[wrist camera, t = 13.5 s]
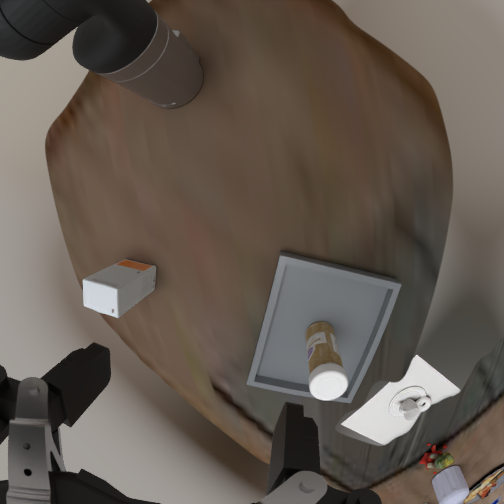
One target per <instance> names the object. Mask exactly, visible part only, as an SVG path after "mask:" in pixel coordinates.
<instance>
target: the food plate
mask: <svg viewBox="0 0 504 504" xmlns="http://www.w3.org/2000/svg"><path fill="white" fill-rule="evenodd" d="M502 483H504V467H502V468H500V469H497V470H496V471H495V472H494V473H493V474H491V475H489V476H488V477H487V478H485V479H484V480H483V481H481V482H480V483H479V484H478V485H477V486H475V487H473V489H472V490H471V491H470V492H469V493H468V495H467V497H466V498H465V500H464V501H463V504H471V503H473V502H475V501H478V500H480V499H483V498H484V497H487V496H488V495H489V493H491V492H492V491H494V490H495V489H496V488H498V487H499V486H500V485H501V484H502Z"/></svg>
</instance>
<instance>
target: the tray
mask: <svg viewBox="0 0 504 504" xmlns="http://www.w3.org/2000/svg"><path fill="white" fill-rule="evenodd" d="M400 287H401V283H400V282H399V281H397V280H396V279H395V278H392V277H388V276H384V275H380V274H376V273H372V272H368V271H364V270H360V269H356V268H351V267H347V266H343V265H339V264H335V263H331V262H327V261H322V260H318V259H314V258H310V257H306V256H301V255H297V254H293V253H289V252H285V251H281V252H280V256H279V260H278V264H277V268H276V272H275V276H274V280H273V284H272V288H271V292H270V296H269V300H268V304H267V308H266V312H265V316H264V320H263V324H262V327H261V331H260V335H259V339H258V343H257V346H256V350H255V354H254V358H253V361H252V365H251V369H250V372H249V376H248V381H247V385H251V386H255V387H260V388H264V389H269V390H274V391H279V392H284V393H289V394H294V395H300V396H305V397H311V398H315V397H314V396H313V395H312V394H311V392H310V389H309V376H310V372H309V362H308V356H307V341H306V337H305V334H306V331H307V329H308V327H310V326H311V325H312V324H314V323H316V322H326V323H328V324H330V325H331V326H332V327H333V330H334V336H335V338H336V341H337V344H338V348H339V352H340V355H341V359H342V365H343V368H344V370H345V371H346V374H347V379H348V387H347V389H346V391H345V392H344V393H343V394H342V395H341V396H340V397H338V398H336V399H333V400H331V401H338V402H346V403H351V401H352V399H353V397H354V395H355V393H356V391H357V389H358V388H359V386H360V383H361V381H362V379H363V377H364V375H365V373H366V371H367V369H368V367H369V365H370V362H371V360H372V358H373V356H374V354H375V351H376V349H377V347H378V344H379V342H380V340H381V337H382V335H383V332H384V330H385V328H386V325H387V322H388V320H389V317H390V315H391V312H392V309H393V307H394V304H395V301H396V299H397V296H398V293H399V290H400Z"/></svg>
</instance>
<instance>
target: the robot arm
mask: <svg viewBox="0 0 504 504" xmlns="http://www.w3.org/2000/svg"><path fill="white" fill-rule="evenodd" d="M76 27H78V28H77V30H76V32H75V35H74V39H73V47H72V48H73V55H74V57H75V59H76V61H77V62H78V63H79V64H80V65H81V66H83V67H84V68H86V69H89V70H90V71H92V72H95V73H97V74H99V75H101V76H103V77H105V78H107V79H109V80H111V81H113V82H115V83H117V84H119V85H120V86H122V87H124V88H126V89H128V90H130V91H132V92H134V93H136V94H137V95H139V96H141V97H143V98H145V99H147V100H148V101H150V102H151V103H153V104H155V105H158V106H160V107H162V108H167V109H168V108H177V107H180V106H183V105H185V104H186V103H188V102H189V101H191V100H192V99H193V98H194V97H195V96H196V95H197V93H198V92H199V90H200V88H201V86H202V83H203V71H202V68H201V66H200V64H199V60H200V57H199V55H198V54H197V53H196V51H195V50H194V49H193V47H192V46H191V45H190V43H189V42H188V41H187V40H186V38H185V37H184V36H183V34H182V33H181V32H180V31H178V30H171V29H170V28H169V26H168V25H167V24H166V23H165V22H164V21H163V19H162V18H161V17H160V16H159V15H158V14H157V13H156V11H155V10H154V9H153V8H152V7H151V6H150V5H149V4H148V2H147V1H146V0H0V56H2V57H5V58H8V59H14V60H29V59H33V58H36V57H37V56H39V55H41V54H42V53H44V52H45V51H46V50H48V49H49V48H50V47H52V46H53V45H54V44H55V43H57V42H58V41H59V40H61V39H62V38H63V37H64V36H66V35H67V34H68V33H70V32H71V31H72V30H74V29H75V28H76ZM110 377H111V368H110V351H109V349H108V348H107V347H104V346H102V345H99V344H97V343H92V344H91V345H89V346H88V347H87V348H86V349H83V348H81V349H78V350H76V351H73V352H72V353H70V354H69V355H68V356H67V357H66V358H64V359H63V360H62V361H61V362H60V363H58V364H57V365H56V366H55V367H53V368H52V369H51V370H50V371H49V372H47V373H46V374H45V375H44V376H43V377H42V378H36V377H29V378H26V379H24V380H22V381H18V380H15V379H13V378H9V377H7V373H6V370H5V369H4V367H2V366H1V365H0V444H1V443H2V442H3V441H4V440H5V438H6V437H7V436H8V435H9V440H8V478H9V480H3V481H0V504H160V503H155V502H148V501H142V500H137V499H132V498H129V497H127V496H125V495H124V494H122V493H121V492H119V491H118V490H117V489H115V488H114V487H113V486H111V485H110V484H109V483H107V482H106V481H104V480H103V479H101V478H99V477H97V476H95V475H93V474H91V473H89V472H87V471H85V470H83V469H81V470H80V472H79V473H73V472H67V471H66V469H65V466H64V461H63V455H62V446H61V437H60V428H59V426H60V425H61V424H62V423H64V424H66V425H67V426H69V427H72V426H73V424H74V423H75V422H76V421H77V420H78V419H79V417H80V416H81V415H82V414H83V413H84V412H85V410H86V409H87V408H88V407H89V406H90V405H91V403H92V402H93V401H94V400H95V399H96V398H97V396H98V395H99V394H100V393H101V392H102V391H103V390H104V388H105V387H106V386H107V385H108V383H109V381H110ZM318 445H319V440H318V427H317V425H316V424H315V422H314V420H313V418H308V417H304V412H303V405H300V404H295V403H289V402H285V404H284V406H283V409H282V411H281V414H280V416H279V419H278V421H277V423H276V426H275V429H274V433H273V440H272V450H271V459H270V468H269V477H268V486H267V494H266V497H265V498H263V499H262V500H261V501H259V502H257V503H252V504H382V503H381V499H380V497H379V496H378V495H377V494H376V493H375V492H373V491H372V490H369V489H357V490H354V491H352V492H351V493H347V492H344V491H340V490H337V489H334V488H332V487H330V486H329V485H328V484H327V483H326V481H325V479H324V478H323V477H322V476H321V473H320V456H319V446H318Z"/></svg>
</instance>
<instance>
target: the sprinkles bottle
mask: <svg viewBox="0 0 504 504" xmlns="http://www.w3.org/2000/svg"><path fill="white" fill-rule="evenodd" d="M305 337H306V341H307V356H308V362H309V372H310V376H309V389H310V392H311V394H312V395H313V396H314V397H315V398H317V399H320V400H333V399H336V398H338V397H340V396H341V395H342V394H343V393H344V392H345V391H346V389H347V387H348V379H347V374H346V371H345V370H344V368H343V365H342V359H341V355H340V352H339V348H338V344H337V341H336V338H335V336H334V330H333V327H332V326H331V325H330V324H328V323H326V322H316V323H314V324H312V325H311V326H310V327H308V329H307V331H306V334H305Z"/></svg>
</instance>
